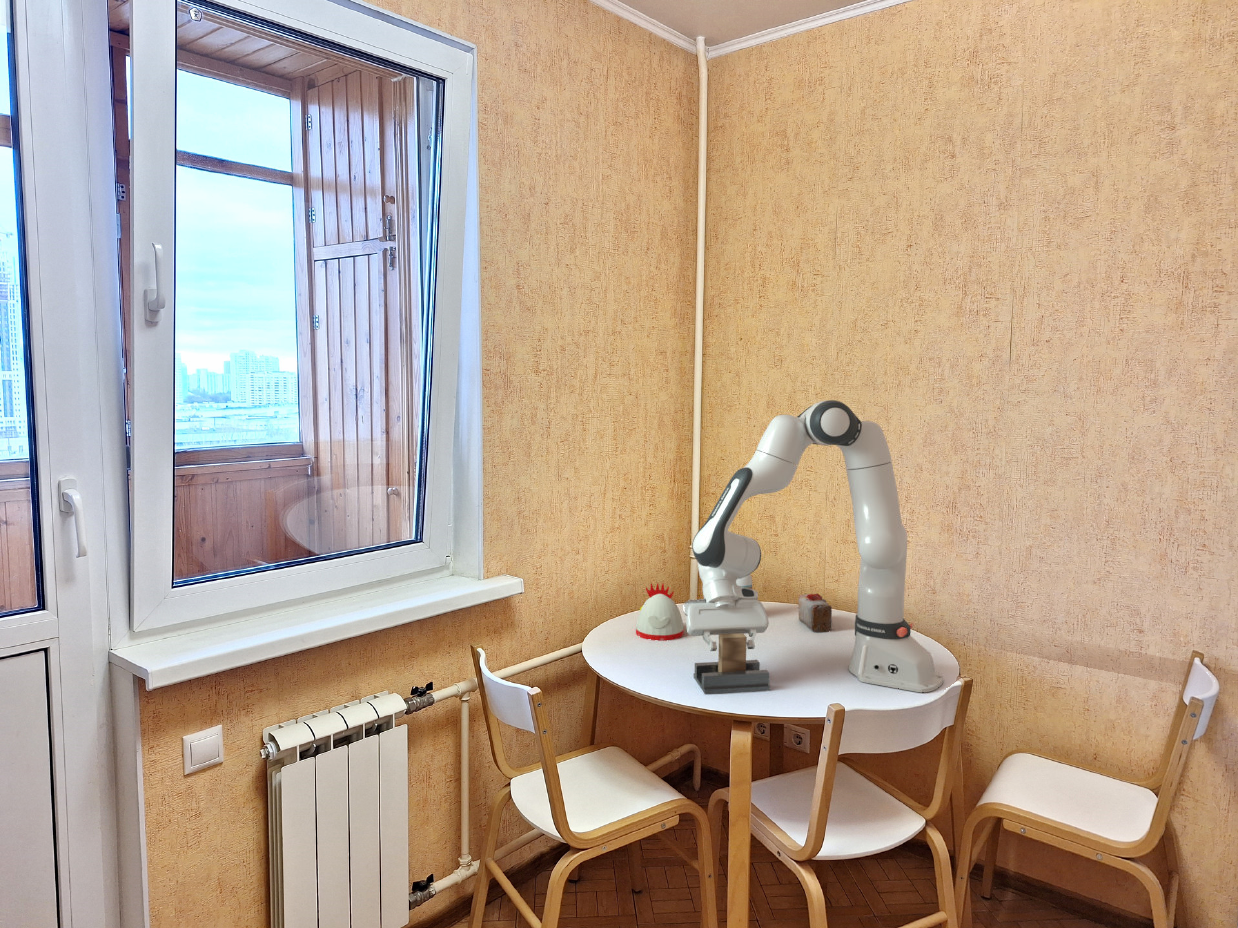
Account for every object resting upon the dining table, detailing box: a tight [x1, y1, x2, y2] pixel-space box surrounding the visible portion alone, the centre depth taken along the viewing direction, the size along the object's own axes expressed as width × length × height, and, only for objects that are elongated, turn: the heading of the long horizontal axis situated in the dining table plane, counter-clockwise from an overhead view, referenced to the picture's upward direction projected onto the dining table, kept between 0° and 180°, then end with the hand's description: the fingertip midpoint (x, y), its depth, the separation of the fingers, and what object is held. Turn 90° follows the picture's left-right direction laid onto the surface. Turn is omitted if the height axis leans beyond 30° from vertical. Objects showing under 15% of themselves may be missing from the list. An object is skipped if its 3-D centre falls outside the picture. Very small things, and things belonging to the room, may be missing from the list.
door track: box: [693, 659, 771, 695], centre depth 195 cm, size 16×11×4 cm
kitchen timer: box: [635, 582, 685, 642], centre depth 234 cm, size 14×14×15 cm
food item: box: [797, 593, 833, 633], centre depth 242 cm, size 14×8×10 cm, turn 7°
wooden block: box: [717, 633, 748, 672], centre depth 195 cm, size 6×3×11 cm, turn 99°
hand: (732, 649), depth 194 cm, fingers open, 8 cm apart
